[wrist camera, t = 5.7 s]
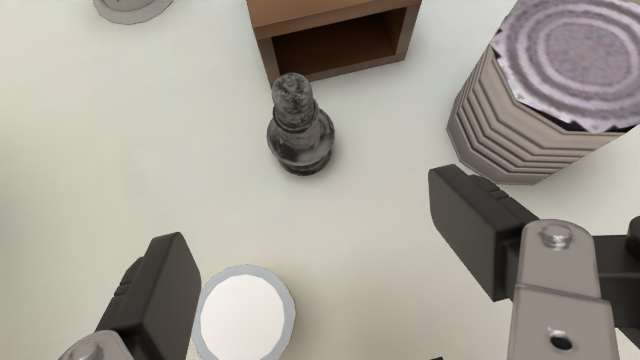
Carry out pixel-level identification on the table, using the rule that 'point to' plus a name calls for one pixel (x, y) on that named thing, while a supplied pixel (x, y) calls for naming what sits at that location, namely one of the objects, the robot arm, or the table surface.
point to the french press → (130, 10)
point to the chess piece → (299, 127)
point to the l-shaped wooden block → (330, 35)
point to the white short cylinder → (243, 316)
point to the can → (549, 89)
